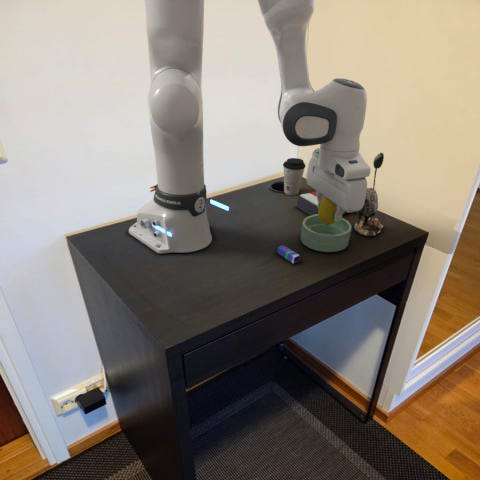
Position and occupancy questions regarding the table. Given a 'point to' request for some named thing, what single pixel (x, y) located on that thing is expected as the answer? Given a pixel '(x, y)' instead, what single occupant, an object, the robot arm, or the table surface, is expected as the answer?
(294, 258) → the eraser
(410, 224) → the table surface
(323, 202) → the lemon
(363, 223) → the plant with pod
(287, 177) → the coffee cup
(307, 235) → the bowl
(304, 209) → the calculator
